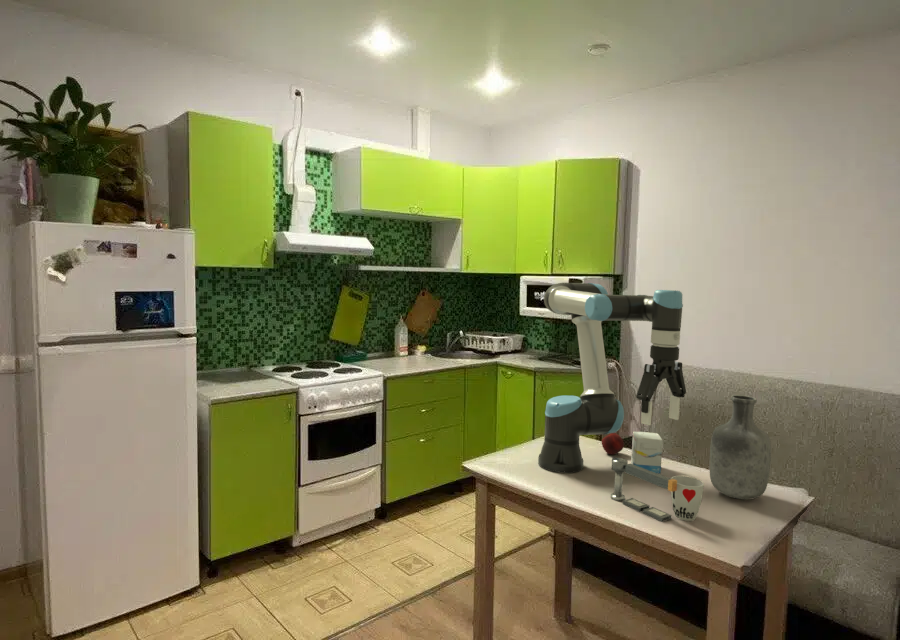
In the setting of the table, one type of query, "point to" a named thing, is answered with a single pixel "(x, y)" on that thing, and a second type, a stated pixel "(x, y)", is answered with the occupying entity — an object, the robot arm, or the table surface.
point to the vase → (740, 453)
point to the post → (618, 487)
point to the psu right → (657, 514)
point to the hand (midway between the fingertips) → (660, 421)
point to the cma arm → (644, 474)
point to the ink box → (647, 451)
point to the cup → (687, 497)
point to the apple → (612, 443)
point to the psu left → (635, 504)
